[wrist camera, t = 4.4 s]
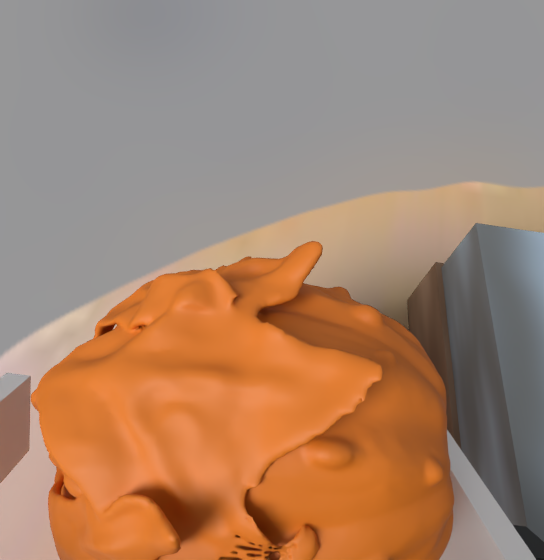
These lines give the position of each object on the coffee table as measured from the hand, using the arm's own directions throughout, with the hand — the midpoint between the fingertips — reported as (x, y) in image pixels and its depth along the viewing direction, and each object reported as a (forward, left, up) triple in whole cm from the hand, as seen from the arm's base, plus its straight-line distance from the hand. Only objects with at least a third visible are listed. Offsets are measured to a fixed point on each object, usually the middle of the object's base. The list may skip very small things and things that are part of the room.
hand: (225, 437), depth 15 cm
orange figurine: (-1, +1, -9) cm, 9 cm away
